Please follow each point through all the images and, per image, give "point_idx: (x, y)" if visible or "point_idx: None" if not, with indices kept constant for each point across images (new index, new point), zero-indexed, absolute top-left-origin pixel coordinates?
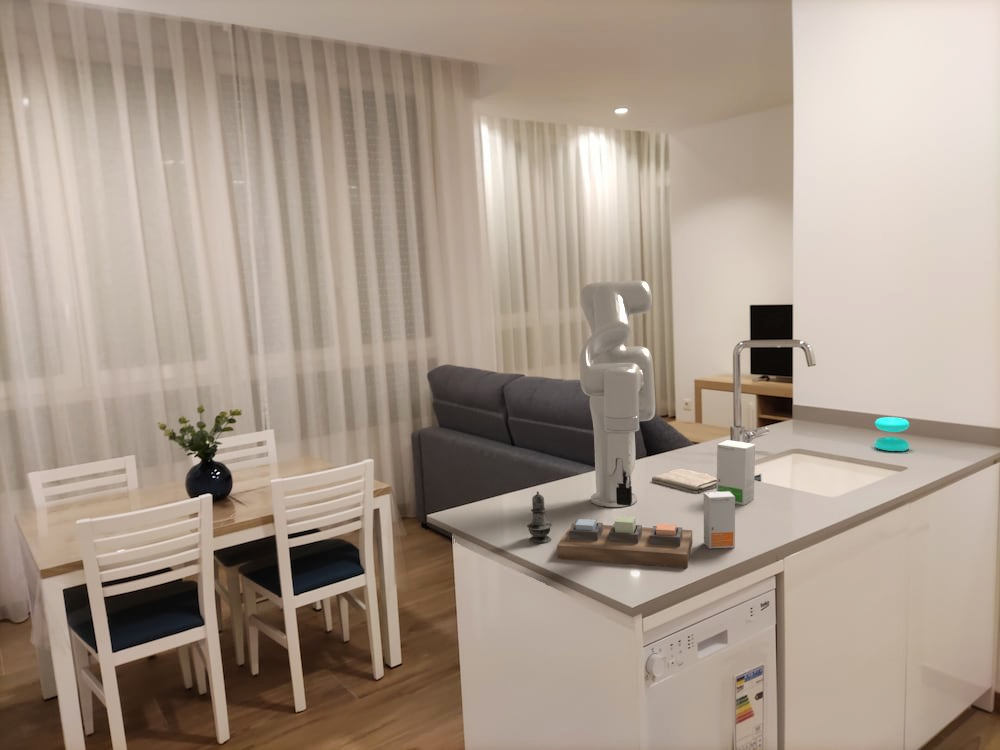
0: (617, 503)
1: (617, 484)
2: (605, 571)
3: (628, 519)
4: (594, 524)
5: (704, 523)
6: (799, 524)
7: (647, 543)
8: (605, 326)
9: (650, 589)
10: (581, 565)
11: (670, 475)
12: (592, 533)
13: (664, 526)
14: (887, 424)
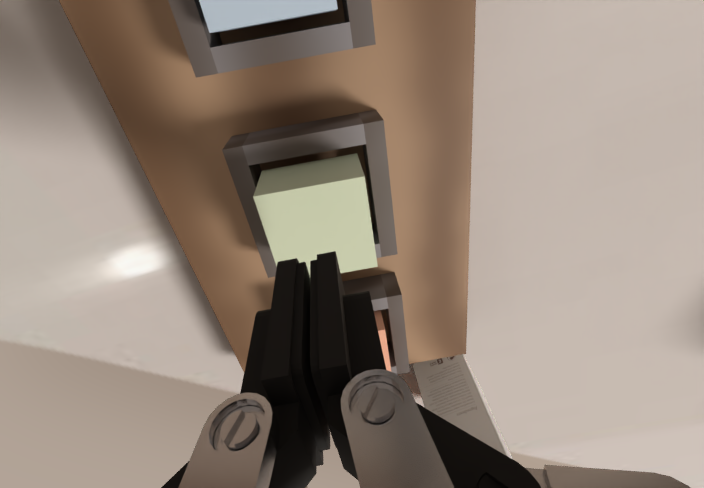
0: (280, 266)
1: (199, 462)
2: (72, 168)
3: (322, 251)
4: (271, 21)
5: (470, 402)
6: (602, 445)
7: None
8: None
9: (57, 329)
10: (47, 37)
11: None
12: (186, 42)
13: None
14: None
